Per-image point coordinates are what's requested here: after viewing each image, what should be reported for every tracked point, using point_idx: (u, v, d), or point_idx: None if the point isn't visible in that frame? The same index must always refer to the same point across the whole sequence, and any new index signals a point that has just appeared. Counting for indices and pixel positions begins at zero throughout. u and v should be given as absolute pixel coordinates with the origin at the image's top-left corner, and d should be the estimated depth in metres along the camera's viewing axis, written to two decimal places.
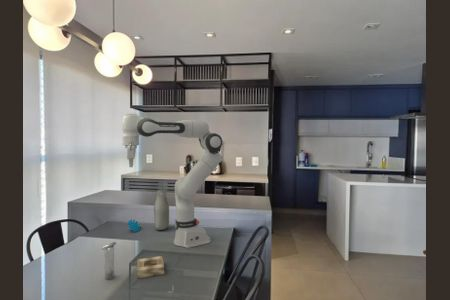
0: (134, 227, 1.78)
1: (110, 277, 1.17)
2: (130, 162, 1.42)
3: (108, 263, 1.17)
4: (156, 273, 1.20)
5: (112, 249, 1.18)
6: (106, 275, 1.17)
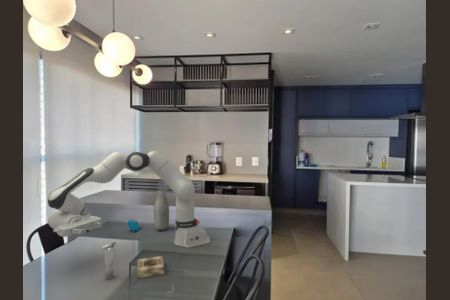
0: (134, 227, 1.78)
1: (110, 277, 1.17)
2: (75, 232, 1.19)
3: (108, 263, 1.17)
4: (156, 273, 1.20)
5: (112, 249, 1.18)
6: (106, 275, 1.17)
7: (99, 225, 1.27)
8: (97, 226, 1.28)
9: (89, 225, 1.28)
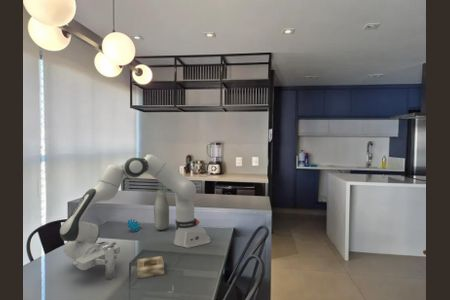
0: (133, 227, 1.79)
1: (110, 277, 1.17)
2: (98, 262, 1.16)
3: (108, 263, 1.17)
4: (156, 273, 1.20)
5: (112, 249, 1.18)
6: (106, 275, 1.17)
7: (115, 256, 1.20)
8: None
9: None
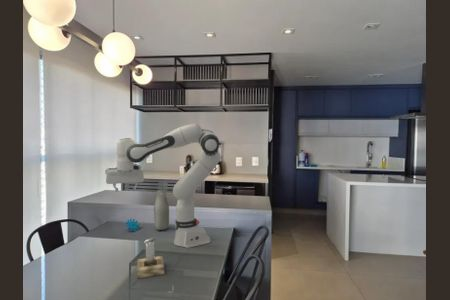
0: (132, 226, 1.79)
1: None
2: (114, 186, 1.46)
3: (149, 257, 1.23)
4: (156, 273, 1.20)
5: (153, 243, 1.24)
6: None
7: None
8: (133, 188, 1.49)
9: None
